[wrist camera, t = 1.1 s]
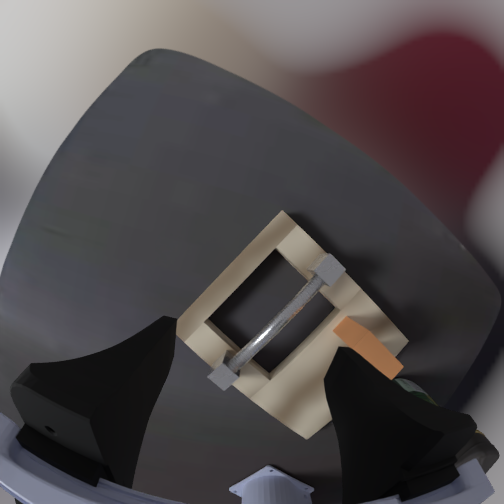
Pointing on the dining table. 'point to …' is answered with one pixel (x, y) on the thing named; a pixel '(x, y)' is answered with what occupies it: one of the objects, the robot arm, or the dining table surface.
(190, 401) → the dining table surface
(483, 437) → the coffee jar
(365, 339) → the orange u-shaped bracket
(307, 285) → the threaded rod assembly
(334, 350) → the beige board with cutout
